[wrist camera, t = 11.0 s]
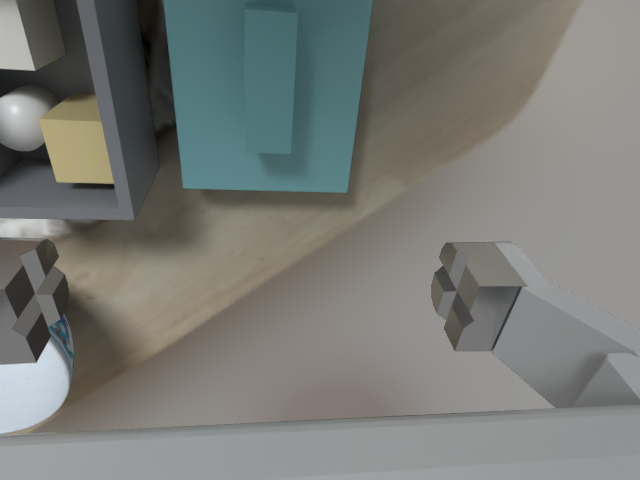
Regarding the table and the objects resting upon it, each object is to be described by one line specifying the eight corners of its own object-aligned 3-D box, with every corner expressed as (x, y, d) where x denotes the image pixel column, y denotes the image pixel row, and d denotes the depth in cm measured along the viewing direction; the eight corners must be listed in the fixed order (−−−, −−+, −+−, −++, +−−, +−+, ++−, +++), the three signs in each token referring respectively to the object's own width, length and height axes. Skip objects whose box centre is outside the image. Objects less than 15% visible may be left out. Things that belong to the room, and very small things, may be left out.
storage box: (-60, -77, 21) (-178, -86, 16) (129, -58, 23) (82, -60, 17) (20, 163, 29) (-42, 217, 23) (159, 168, 30) (134, 220, 24)
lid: (164, -98, 22) (135, -111, 17) (372, -75, 23) (399, -81, 18) (189, 170, 30) (175, 212, 25) (341, 175, 31) (354, 215, 27)
